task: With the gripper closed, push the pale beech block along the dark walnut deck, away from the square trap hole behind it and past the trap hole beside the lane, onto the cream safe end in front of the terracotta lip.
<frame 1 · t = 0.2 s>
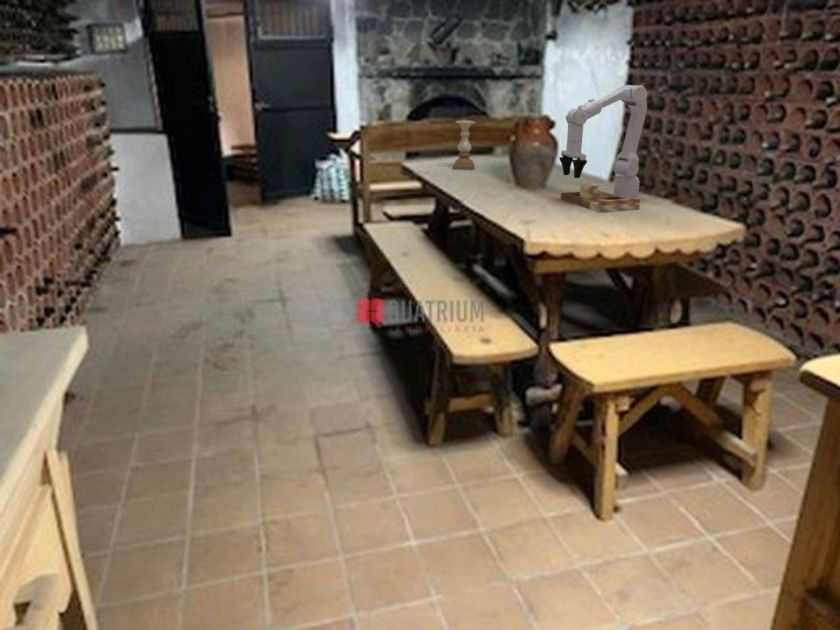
hand: (571, 176, 258), 10 cm above the table, fingers open, 7 cm apart
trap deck: (598, 203, 258), on the table
beech block: (588, 197, 257), point 2 cm above the table, touching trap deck
candle holder: (463, 168, 345), on the table
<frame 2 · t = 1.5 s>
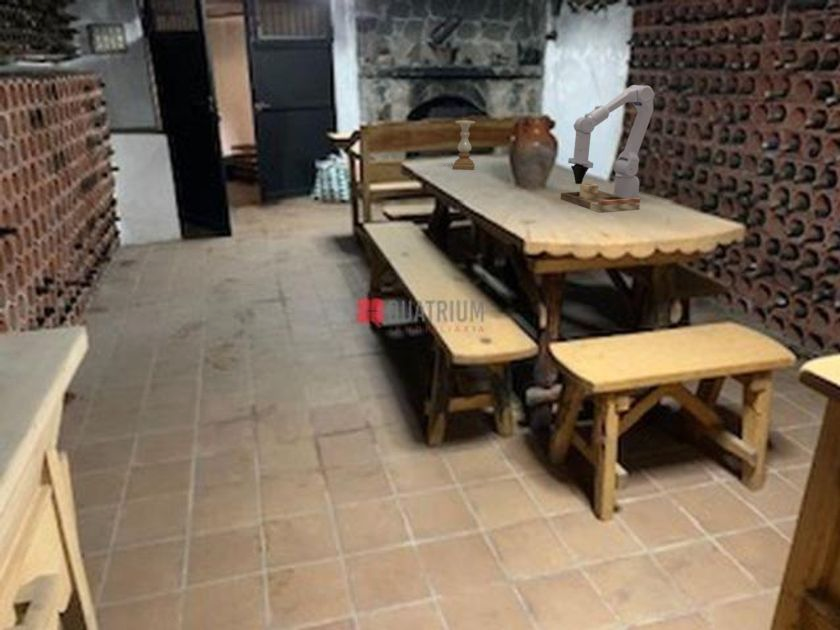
hand: (578, 183, 262), 7 cm above the table, fingers closed
nothing on the table moved.
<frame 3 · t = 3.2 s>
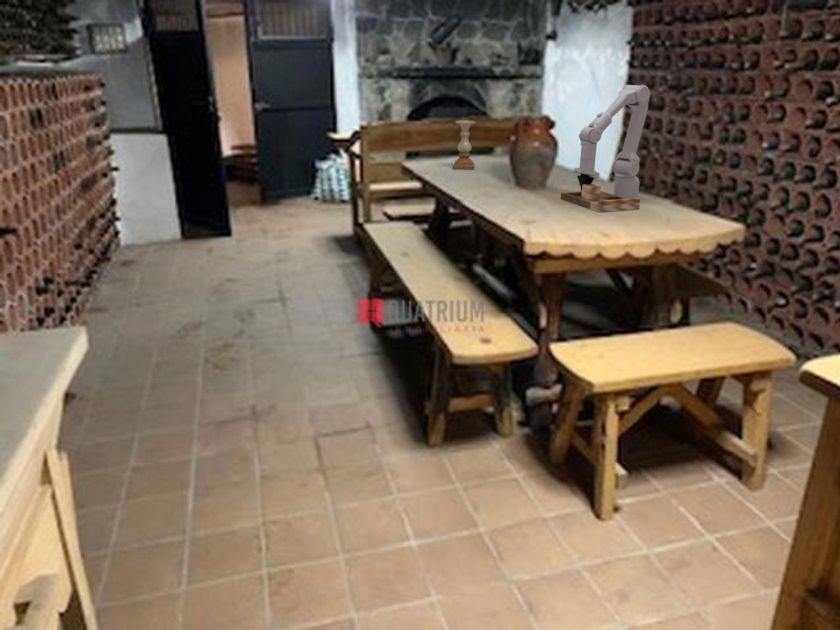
hand: (584, 193, 259), 3 cm above the table, fingers closed
beech block: (590, 198, 256), point 3 cm above the table, touching gripper, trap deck
everything else where it was.
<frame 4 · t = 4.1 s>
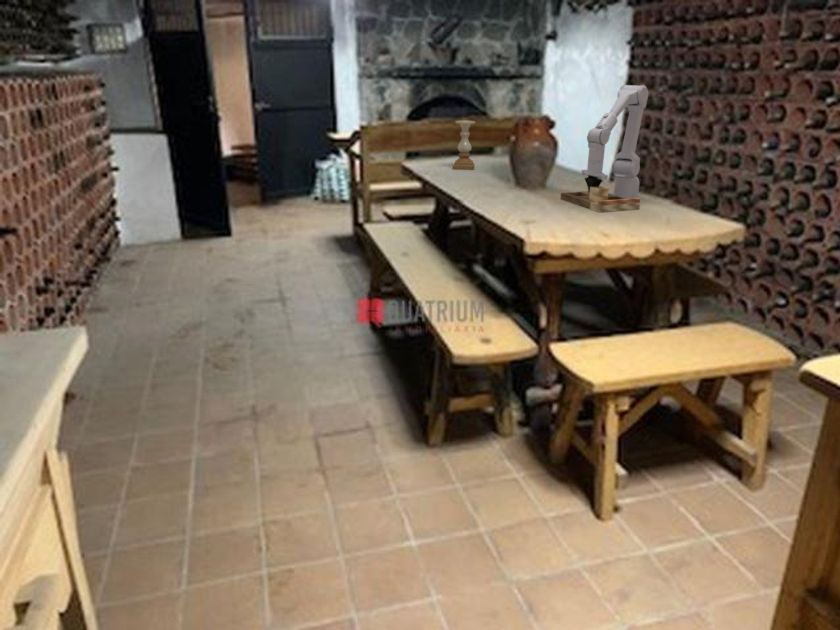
hand: (592, 196, 255), 3 cm above the table, fingers closed
beech block: (598, 200, 251), point 3 cm above the table, touching gripper
everything else where it was.
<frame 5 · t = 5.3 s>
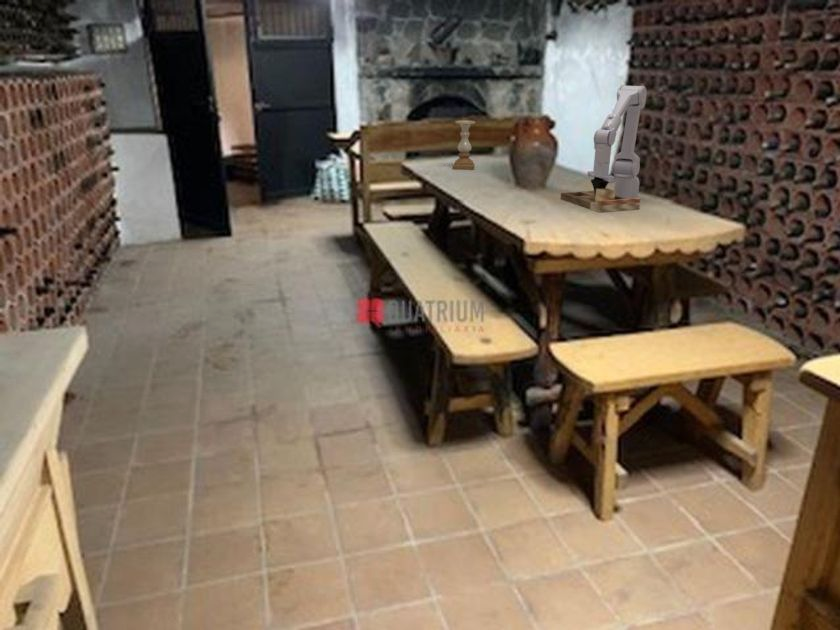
hand: (598, 198, 251), 3 cm above the table, fingers closed
beech block: (604, 202, 248), point 3 cm above the table, touching gripper, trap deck
everything else where it was.
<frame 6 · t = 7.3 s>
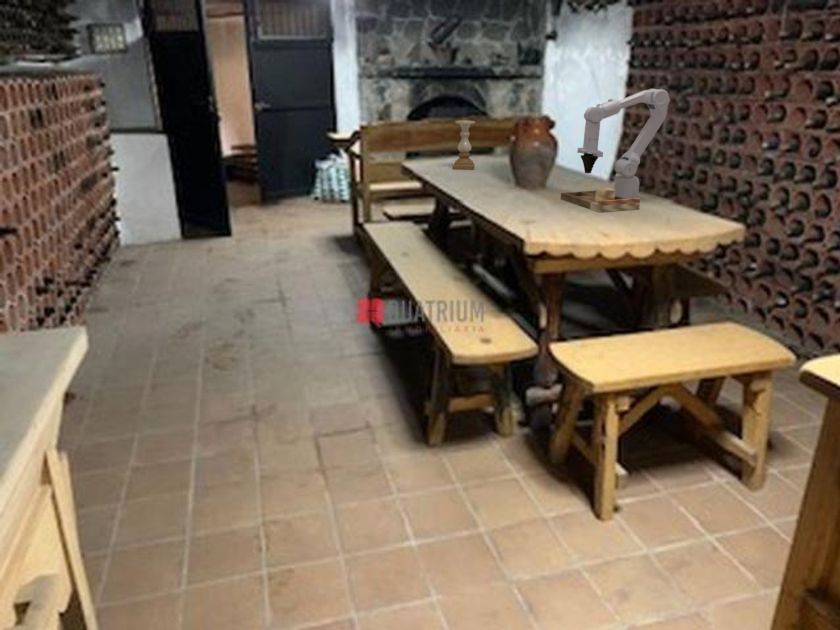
hand: (587, 173, 264), 10 cm above the table, fingers closed
beech block: (604, 202, 248), point 2 cm above the table, touching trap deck
everything else where it was.
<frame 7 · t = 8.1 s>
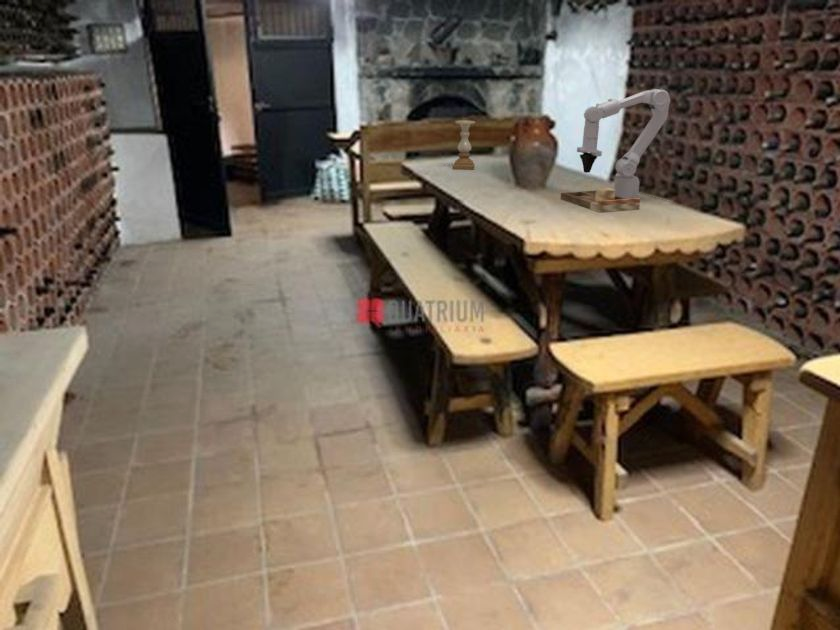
hand: (586, 172, 266), 10 cm above the table, fingers closed
nothing on the table moved.
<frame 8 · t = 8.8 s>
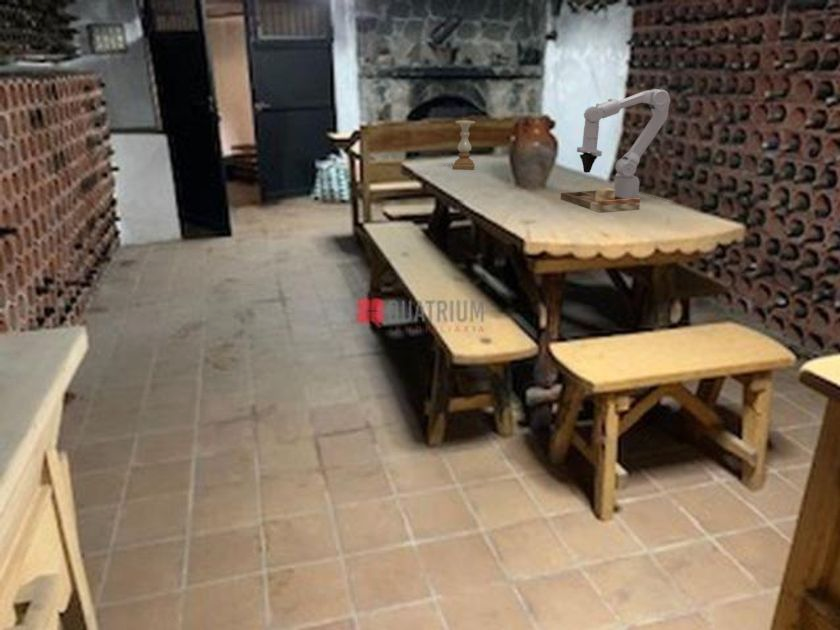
hand: (586, 172, 266), 10 cm above the table, fingers closed
nothing on the table moved.
at the end: beech block 0.2 cm from the target spot on the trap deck, point 2.5 cm above the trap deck's base; beech block tilted 0° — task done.
